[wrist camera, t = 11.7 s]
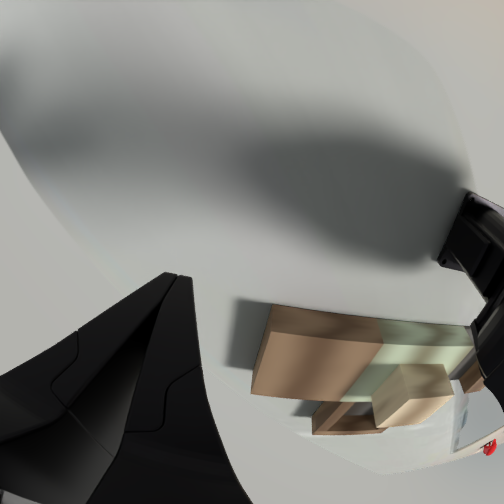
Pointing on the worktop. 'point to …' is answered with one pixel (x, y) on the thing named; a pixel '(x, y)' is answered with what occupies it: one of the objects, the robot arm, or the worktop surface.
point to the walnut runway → (352, 362)
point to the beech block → (411, 394)
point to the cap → (490, 448)
